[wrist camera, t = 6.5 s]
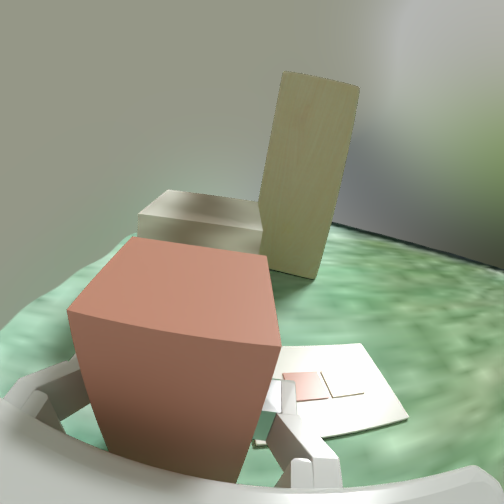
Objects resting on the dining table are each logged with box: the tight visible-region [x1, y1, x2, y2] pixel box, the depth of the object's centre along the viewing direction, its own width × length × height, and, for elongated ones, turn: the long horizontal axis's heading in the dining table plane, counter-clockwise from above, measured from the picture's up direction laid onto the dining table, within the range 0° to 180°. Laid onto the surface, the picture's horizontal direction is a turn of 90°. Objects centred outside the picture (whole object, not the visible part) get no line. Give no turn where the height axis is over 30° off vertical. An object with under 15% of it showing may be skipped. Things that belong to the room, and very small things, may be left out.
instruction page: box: [255, 343, 409, 446], centre depth 17 cm, size 10×8×1 cm
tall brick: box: [67, 236, 282, 484], centre depth 9 cm, size 4×4×10 cm
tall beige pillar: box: [258, 71, 360, 279], centre depth 32 cm, size 8×7×21 cm
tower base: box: [137, 190, 263, 255], centre depth 24 cm, size 8×8×8 cm
